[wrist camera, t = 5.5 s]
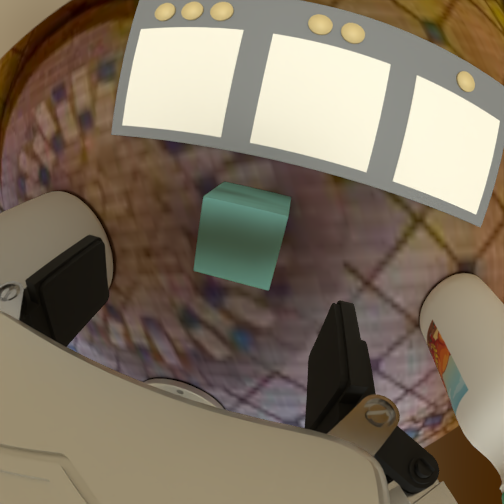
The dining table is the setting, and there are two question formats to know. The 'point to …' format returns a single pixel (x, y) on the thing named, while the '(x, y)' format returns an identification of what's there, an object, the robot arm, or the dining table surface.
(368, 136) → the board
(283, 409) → the dining table surface
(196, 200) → the dining table surface
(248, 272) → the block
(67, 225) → the cylinder vase
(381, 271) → the dining table surface
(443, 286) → the milk bottle
